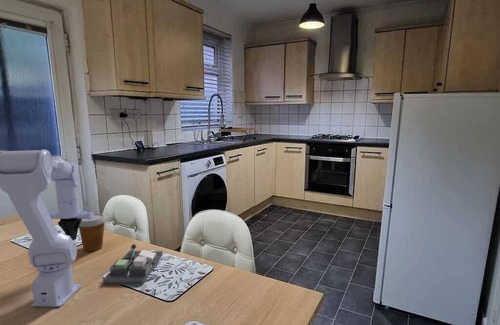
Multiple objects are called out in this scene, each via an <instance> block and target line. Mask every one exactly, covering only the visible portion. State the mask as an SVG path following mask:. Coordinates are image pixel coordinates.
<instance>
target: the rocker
mask: <svg viewBox="0 0 500 325" xmlns="http://www.w3.org/2000/svg"><path fill="white" fill-rule="evenodd" d="M140 251H141V252H140V254H139V255H138V256H144V257H147V260H153V259H154V257H155V256H156V253H154V252H150V251H151V250H150V251H149V250H146V249H142V250H140Z"/></svg>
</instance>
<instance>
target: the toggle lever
mask: <svg viewBox="0 0 500 325" xmlns="http://www.w3.org/2000/svg"><path fill="white" fill-rule="evenodd" d="M136 248H137V245H136V244H134V243H133V244H132V245H131V246H130V250H129V251H130V253H129V256H128V257H132V258H133V255H134V252H135V251H136Z"/></svg>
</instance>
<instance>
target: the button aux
mask: <svg viewBox="0 0 500 325" xmlns="http://www.w3.org/2000/svg"><path fill="white" fill-rule="evenodd" d="M133 262H134V267H144V266H145V264H146V263H147V257H144V256H137V257H136V259H135V260H134V261H133Z"/></svg>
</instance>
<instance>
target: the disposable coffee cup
mask: <svg viewBox="0 0 500 325" xmlns="http://www.w3.org/2000/svg"><path fill="white" fill-rule="evenodd" d="M106 220H107V218H106V217H105V215H104V214H102V213H94V218H93V219H91V220H88V219H82V221H81V223H80V225H79V228H78V231H79V234H80V238H81V243H82V247H83V251H85V252H94V251H98V250H100V249H102V248H103V243H104V233H105V231H104V230H105V223H106Z"/></svg>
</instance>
